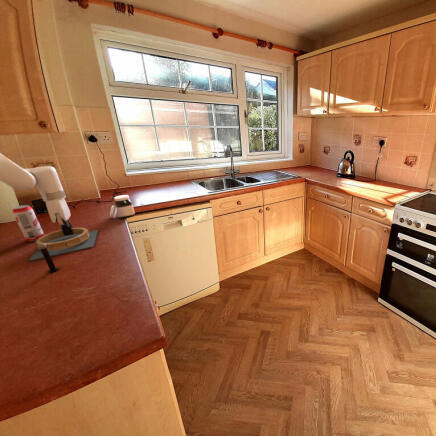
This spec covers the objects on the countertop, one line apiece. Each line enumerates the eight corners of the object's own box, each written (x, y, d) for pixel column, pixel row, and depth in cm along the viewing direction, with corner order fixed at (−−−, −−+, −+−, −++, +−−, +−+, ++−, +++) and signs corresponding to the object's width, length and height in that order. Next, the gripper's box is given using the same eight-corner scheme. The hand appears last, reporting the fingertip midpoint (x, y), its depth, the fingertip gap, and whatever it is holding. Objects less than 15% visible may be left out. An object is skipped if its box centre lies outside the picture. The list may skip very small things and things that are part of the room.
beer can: (25, 243, 109) (8, 210, 103) (28, 238, 113) (12, 206, 107) (44, 239, 112) (29, 206, 106) (46, 235, 117) (32, 203, 111)
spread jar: (137, 216, 136) (131, 196, 132) (113, 222, 129) (106, 201, 125) (131, 211, 145) (126, 192, 140) (109, 217, 137) (102, 197, 133)
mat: (29, 261, 94) (28, 260, 94) (44, 241, 110) (43, 240, 110) (93, 247, 103) (92, 246, 103) (98, 231, 119) (97, 230, 119)
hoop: (33, 254, 95) (30, 248, 94) (45, 239, 109) (42, 233, 107) (86, 244, 103) (84, 237, 102) (91, 230, 116) (89, 224, 115)
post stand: (48, 273, 86) (34, 245, 82) (50, 270, 88) (37, 242, 84) (57, 271, 87) (44, 243, 83) (59, 267, 89) (47, 240, 85)
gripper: (47, 193, 109) (62, 230, 116) (36, 201, 97) (54, 242, 104) (68, 190, 113) (82, 226, 120) (60, 198, 101) (76, 238, 108)
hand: (69, 233), depth 112 cm, fingers closed on hoop, 1 cm apart
